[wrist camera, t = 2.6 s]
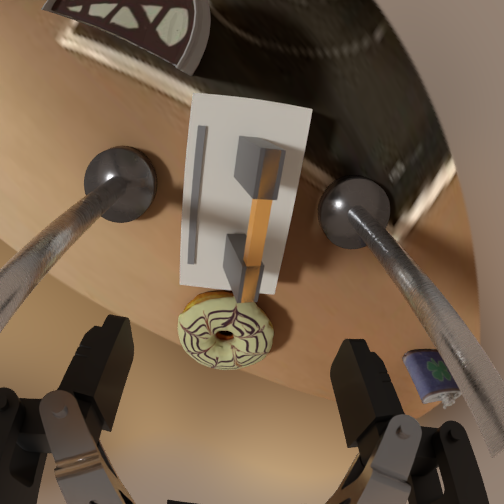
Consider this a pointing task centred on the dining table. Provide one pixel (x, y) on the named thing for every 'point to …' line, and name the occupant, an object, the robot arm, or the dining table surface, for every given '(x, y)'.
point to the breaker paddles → (253, 215)
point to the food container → (148, 25)
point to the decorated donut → (227, 319)
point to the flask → (431, 376)
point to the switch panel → (235, 183)
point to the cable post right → (417, 297)
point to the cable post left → (80, 220)
